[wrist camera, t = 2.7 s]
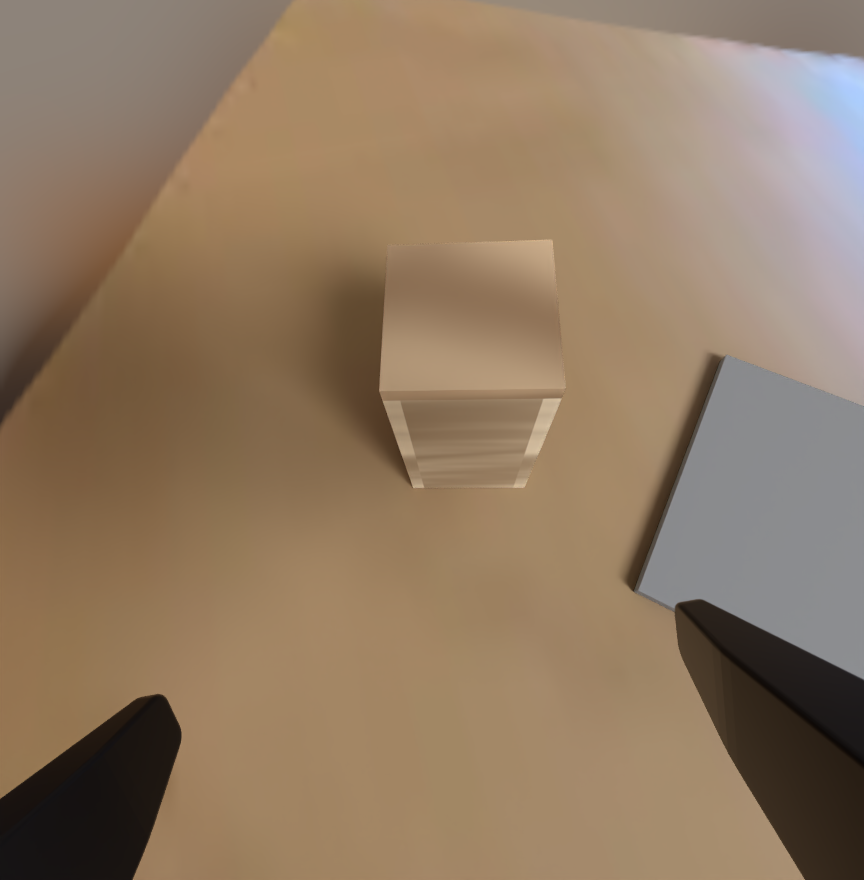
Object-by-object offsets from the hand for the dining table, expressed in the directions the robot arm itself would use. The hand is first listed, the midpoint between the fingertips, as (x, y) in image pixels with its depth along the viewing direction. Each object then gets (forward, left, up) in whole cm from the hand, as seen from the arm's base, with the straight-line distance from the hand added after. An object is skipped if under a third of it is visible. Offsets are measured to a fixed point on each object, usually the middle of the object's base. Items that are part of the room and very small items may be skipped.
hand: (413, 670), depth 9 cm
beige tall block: (+7, -7, -13) cm, 16 cm away
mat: (-6, -16, -13) cm, 21 cm away
